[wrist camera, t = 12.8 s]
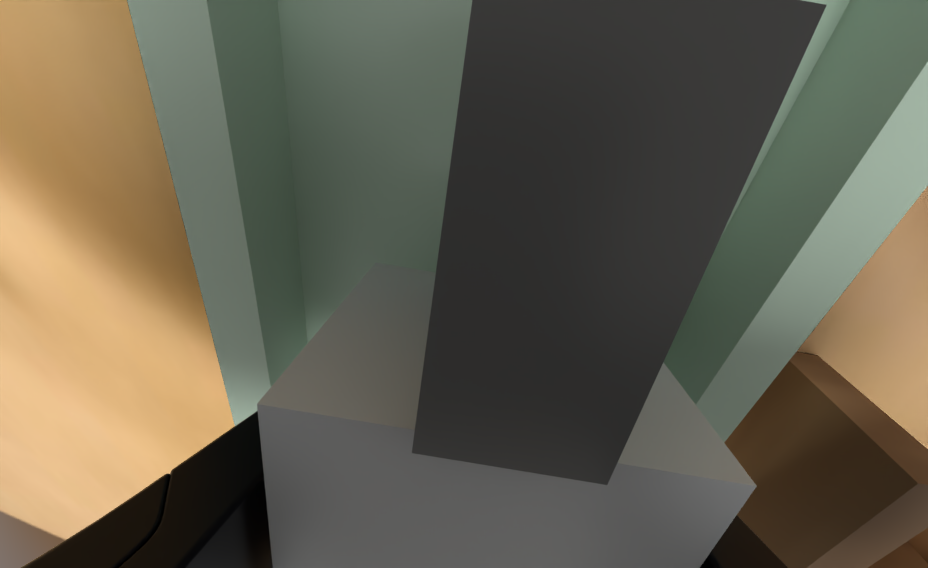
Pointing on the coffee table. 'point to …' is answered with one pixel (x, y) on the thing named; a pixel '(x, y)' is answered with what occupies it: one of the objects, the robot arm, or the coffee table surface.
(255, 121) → the tray
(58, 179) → the coffee table surface
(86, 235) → the coffee table surface
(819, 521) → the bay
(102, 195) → the coffee table surface
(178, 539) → the robot arm
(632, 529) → the grey stepped block
